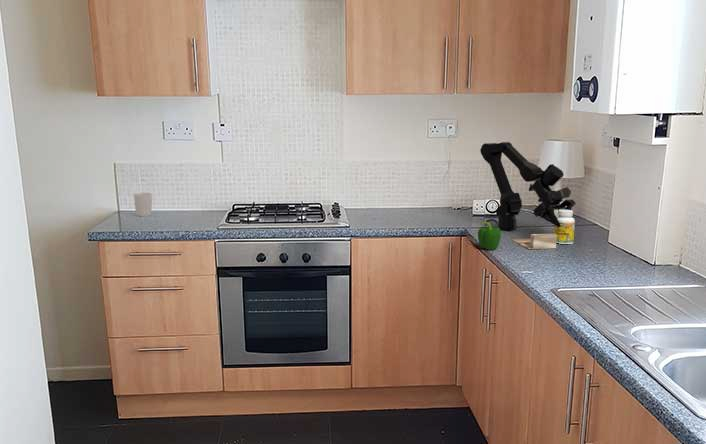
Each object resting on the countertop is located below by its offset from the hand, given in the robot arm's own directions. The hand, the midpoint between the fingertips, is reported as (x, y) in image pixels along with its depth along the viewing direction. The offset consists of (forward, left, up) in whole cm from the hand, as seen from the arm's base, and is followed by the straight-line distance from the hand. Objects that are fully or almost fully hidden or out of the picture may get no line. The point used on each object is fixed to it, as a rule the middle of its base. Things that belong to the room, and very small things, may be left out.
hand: (566, 225), depth 235 cm
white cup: (-173, -74, -7) cm, 188 cm away
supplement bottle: (-1, 0, -7) cm, 7 cm away
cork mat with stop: (-8, -9, -7) cm, 14 cm away
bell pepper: (-19, -27, -7) cm, 33 cm away
